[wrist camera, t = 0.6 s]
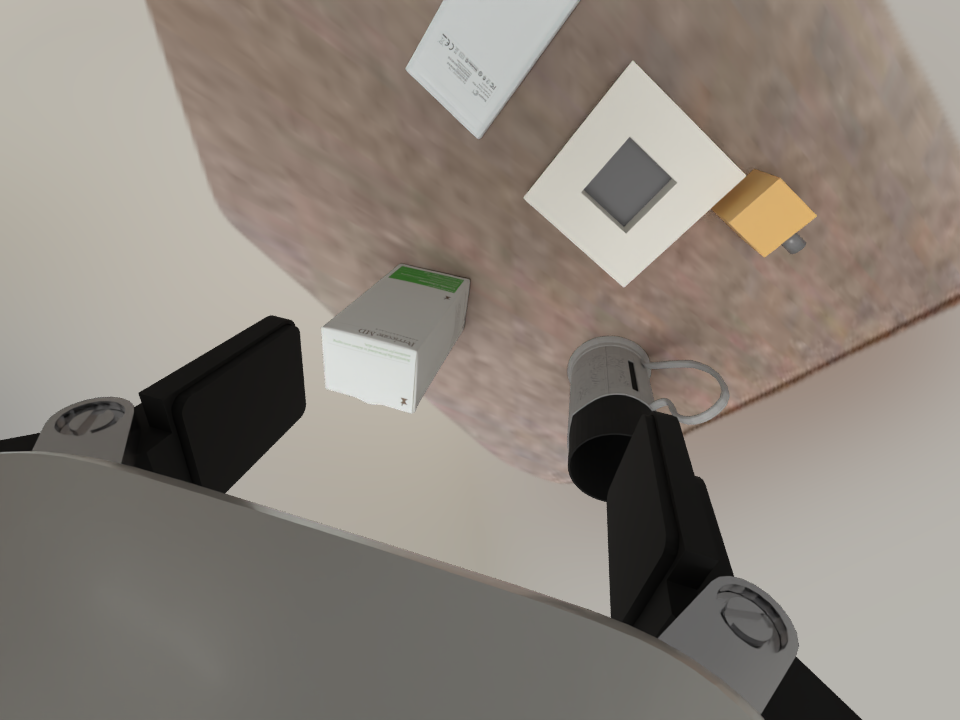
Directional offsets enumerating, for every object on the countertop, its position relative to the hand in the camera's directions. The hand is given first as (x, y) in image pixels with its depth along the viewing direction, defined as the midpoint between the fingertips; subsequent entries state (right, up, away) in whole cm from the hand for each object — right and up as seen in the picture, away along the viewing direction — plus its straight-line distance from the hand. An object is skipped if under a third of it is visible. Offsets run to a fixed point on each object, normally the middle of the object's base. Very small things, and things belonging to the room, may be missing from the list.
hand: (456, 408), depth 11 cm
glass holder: (+17, +1, +34) cm, 37 cm away
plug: (+23, +14, +24) cm, 36 cm away
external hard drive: (+2, +27, +23) cm, 36 cm away
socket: (+13, +17, +25) cm, 33 cm away
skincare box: (-5, +8, +35) cm, 36 cm away
